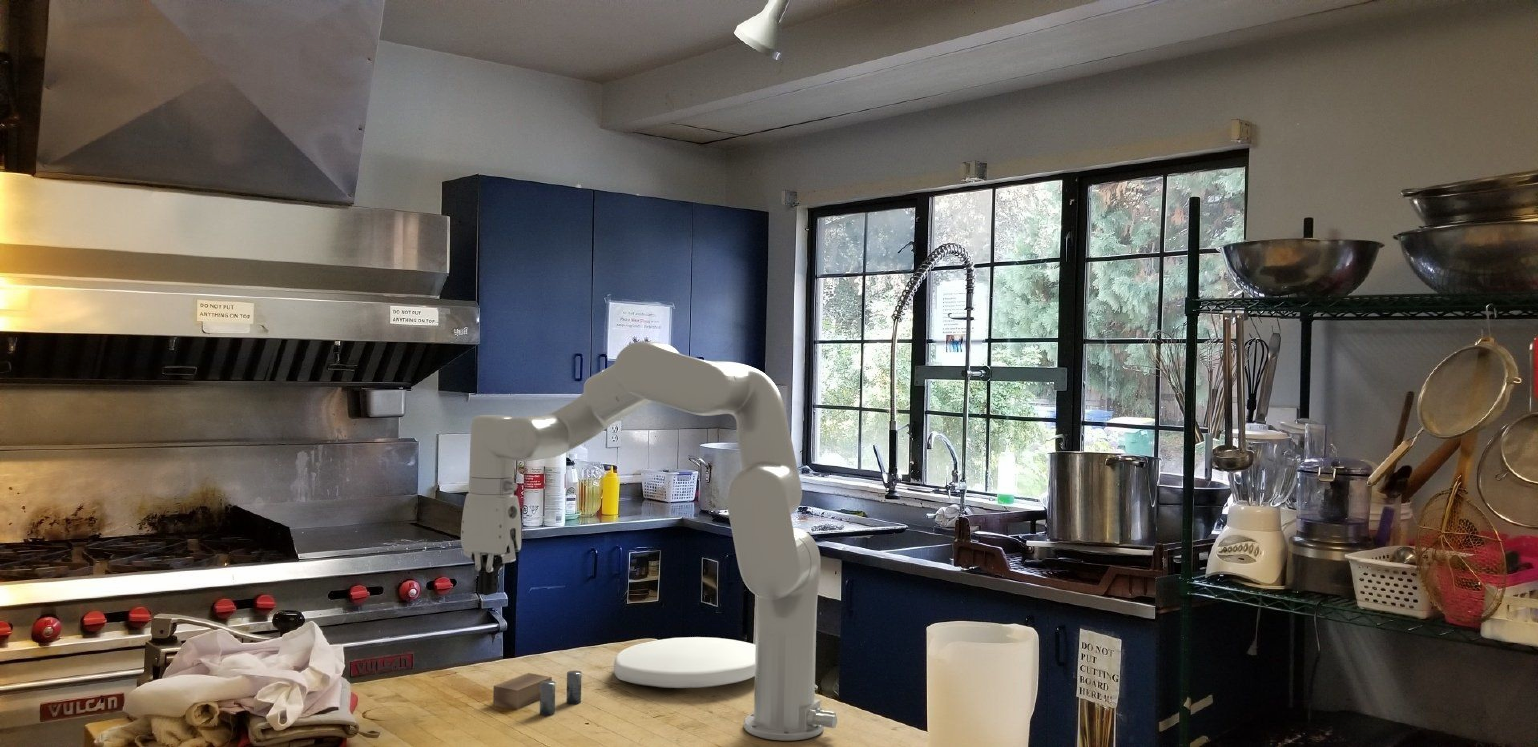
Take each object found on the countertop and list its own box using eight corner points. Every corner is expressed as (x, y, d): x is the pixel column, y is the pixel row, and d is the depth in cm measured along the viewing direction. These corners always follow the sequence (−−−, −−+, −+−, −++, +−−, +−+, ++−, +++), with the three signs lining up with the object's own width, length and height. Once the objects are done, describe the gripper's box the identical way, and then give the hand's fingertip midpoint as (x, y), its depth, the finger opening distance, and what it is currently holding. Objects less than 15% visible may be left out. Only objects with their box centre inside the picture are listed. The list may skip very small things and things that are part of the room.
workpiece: (551, 697, 188) (551, 676, 188) (516, 711, 180) (517, 690, 180) (528, 692, 190) (528, 672, 190) (493, 706, 182) (493, 685, 182)
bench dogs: (583, 701, 185) (584, 671, 185) (548, 716, 177) (549, 685, 177) (572, 699, 186) (572, 669, 186) (536, 714, 178) (537, 683, 178)
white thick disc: (590, 664, 191) (641, 630, 217) (593, 701, 191) (643, 663, 217) (746, 659, 185) (778, 625, 211) (749, 697, 185) (781, 658, 211)
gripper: (540, 488, 188) (536, 595, 188) (473, 481, 195) (469, 584, 195) (511, 492, 181) (507, 603, 182) (442, 485, 188) (439, 591, 188)
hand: (487, 593), depth 188 cm, fingers closed
